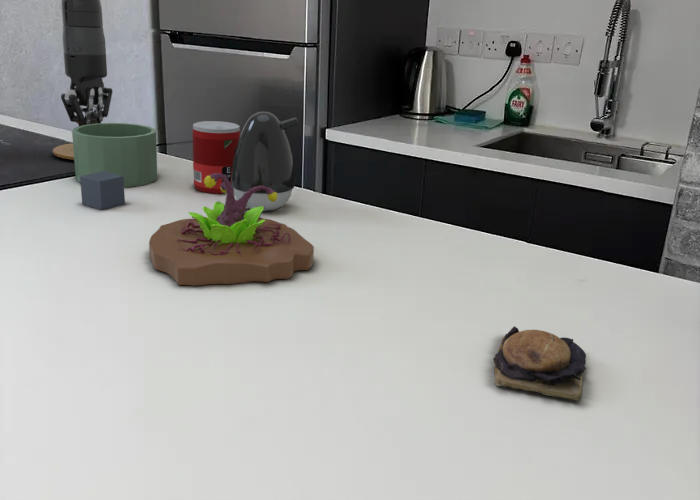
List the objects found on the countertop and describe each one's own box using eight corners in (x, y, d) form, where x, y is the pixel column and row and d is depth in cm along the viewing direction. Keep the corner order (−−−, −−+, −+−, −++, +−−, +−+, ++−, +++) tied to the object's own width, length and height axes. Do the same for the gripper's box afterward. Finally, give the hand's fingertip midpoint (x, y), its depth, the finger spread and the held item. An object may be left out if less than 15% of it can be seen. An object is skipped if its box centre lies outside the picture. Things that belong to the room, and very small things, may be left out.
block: (101, 210, 103) (99, 181, 101) (81, 204, 105) (79, 175, 104) (125, 204, 107) (123, 176, 105) (105, 198, 109) (103, 170, 107)
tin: (89, 190, 112) (85, 139, 109) (67, 172, 122) (63, 124, 119) (168, 183, 120) (167, 134, 117) (141, 166, 130) (139, 121, 127)
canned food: (231, 196, 115) (231, 130, 111) (186, 191, 116) (184, 126, 112) (245, 185, 122) (246, 123, 118) (203, 180, 123) (202, 119, 119)
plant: (135, 239, 92) (131, 157, 88) (271, 226, 101) (273, 151, 97) (170, 296, 75) (168, 199, 72) (329, 275, 84) (334, 187, 80)
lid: (64, 166, 126) (60, 127, 124) (45, 150, 137) (41, 114, 135) (140, 160, 135) (138, 123, 132) (116, 145, 145) (115, 111, 143)
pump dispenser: (300, 215, 107) (304, 118, 102) (233, 216, 104) (233, 116, 99) (289, 197, 116) (292, 107, 111) (227, 198, 113) (227, 105, 108)
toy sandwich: (584, 407, 60) (592, 370, 58) (487, 386, 62) (493, 350, 60) (583, 352, 69) (590, 319, 68) (499, 336, 71) (504, 304, 70)
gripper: (89, 48, 136) (95, 134, 142) (43, 51, 124) (51, 146, 129) (122, 50, 135) (127, 137, 141) (79, 54, 122) (86, 150, 128)
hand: (91, 141), depth 135 cm, fingers closed on lid, 2 cm apart
